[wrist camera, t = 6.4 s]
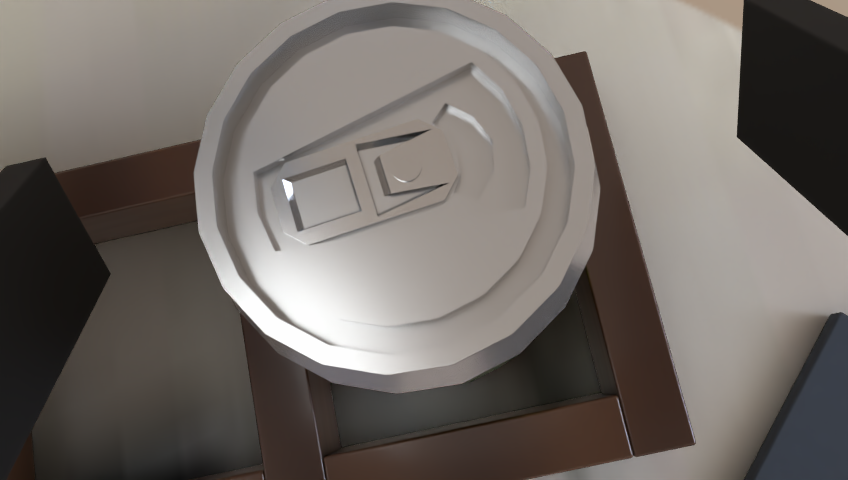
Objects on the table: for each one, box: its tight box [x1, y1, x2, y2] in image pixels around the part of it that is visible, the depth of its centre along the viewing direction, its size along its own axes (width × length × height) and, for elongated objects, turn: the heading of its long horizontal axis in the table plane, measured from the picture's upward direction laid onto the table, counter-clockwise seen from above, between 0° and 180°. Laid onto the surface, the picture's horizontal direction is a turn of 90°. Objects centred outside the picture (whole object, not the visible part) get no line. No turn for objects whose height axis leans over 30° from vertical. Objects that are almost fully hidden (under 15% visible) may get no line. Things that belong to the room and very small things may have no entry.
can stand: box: [7, 51, 696, 480], centre depth 19 cm, size 19×10×2 cm, turn 102°
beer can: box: [194, 0, 601, 394], centre depth 14 cm, size 5×5×12 cm
